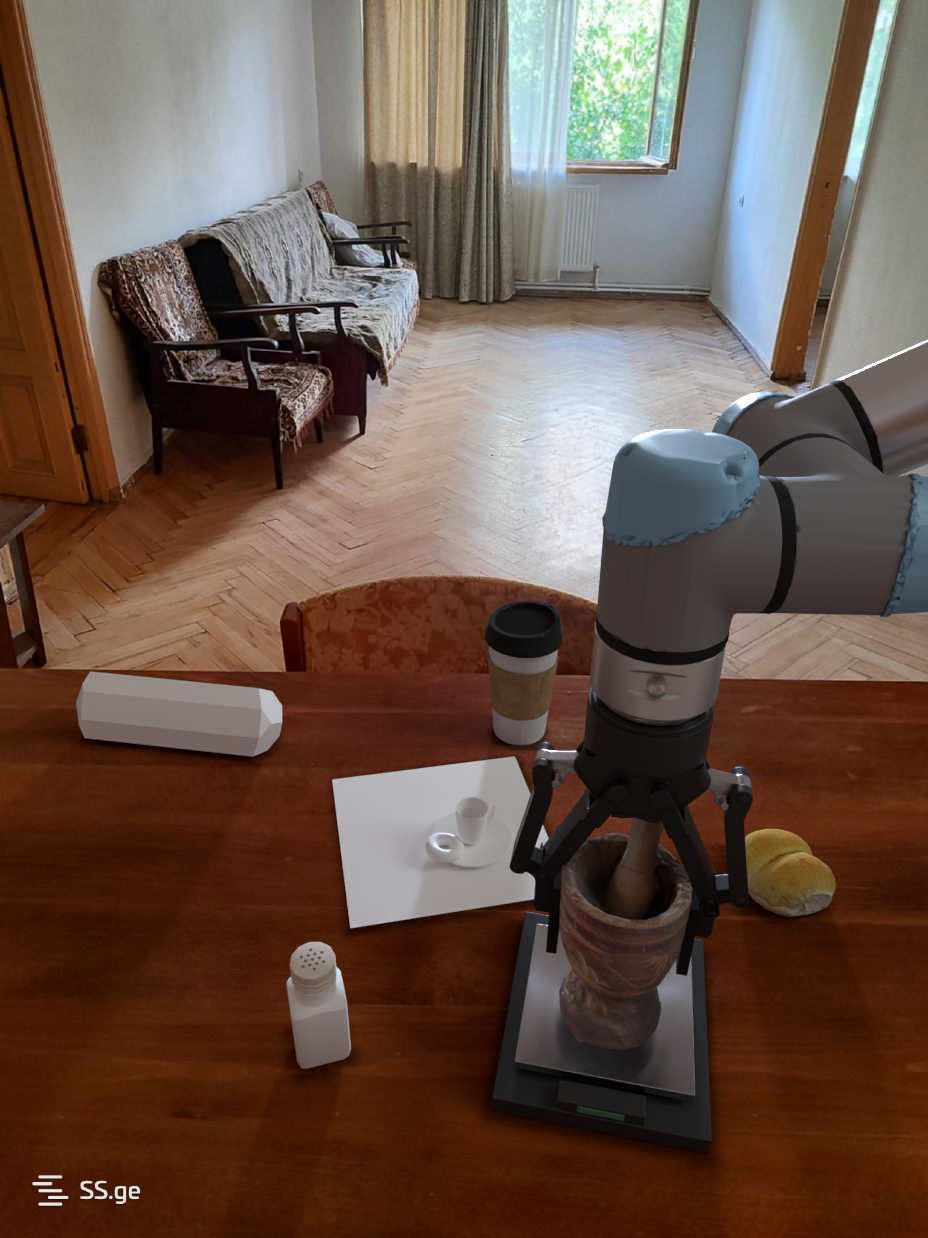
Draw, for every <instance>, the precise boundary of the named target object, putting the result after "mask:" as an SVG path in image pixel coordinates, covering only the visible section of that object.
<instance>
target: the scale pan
mask: <svg viewBox="0 0 928 1238" xmlns="http://www.w3.org/2000/svg"><path fill="white" fill-rule="evenodd" d="M547 932H548V925H543V924H537V926H536V932H535V938H534V945H533V951H532V957H531V963H530V969H529V975H528V982H527V988H526V994H525V1000H524V1006H523V1012H522V1019H521V1025H520V1031H519V1037H518V1043H517V1049H516V1056H515V1063H514V1067H515V1068H519V1069H524V1070H529V1071H534V1072H539V1073H545V1074H550V1075H555V1076H560V1077H565V1078H571V1079H576V1080H581V1081H586V1082H591V1083H597V1084H602V1085H607V1086H612V1087H618V1088H623V1089H628V1090H633V1091H638V1092H644V1093H649V1094H654V1095H659V1096H664V1097H670V1098H675V1099H680V1100H685V1101H690V1102H694V1099H695V1064H694V1027H693V991H692V954H691V959H690V964H689V969H688V974H687V976H685V975H679V974H676V961H675V963H674V964H673V966H672V967H671V969H670V971H669V972H668V973H667V975H666V976H665V978H664V979H663V980H662V982H661V983H660V985H659V986H657V990H658V995H659V1000H660V1002H661V1014H660V1018H659V1022H658V1026H657V1028H656V1030H655V1032H654V1033H653V1035H652V1036H651V1037H650V1038H649V1039H648V1040H647V1041H646V1042H645V1043H643V1044H642V1045H641V1046H637V1047H634V1048H630V1049H626V1050H622V1049H605V1048H600V1047H596V1046H592V1045H590V1044H588V1043H585V1042H580V1041H578V1040H577V1038H576V1037H575V1035H574V1034H573V1033H572V1031H571V1030H570V1028H569V1027H568V1026H567V1024H566V1022H565V1020H564V1018H563V1016H562V1014H561V1010H560V1000H559V990H560V986H561V983H562V981H563V978H564V976H565V975H566V973H567V972H568V970H569V969H570V968H571V965H570V963H569V961H568V959H567V956H566V952H565V950H564V947H563V943H562V940H561V935H560V929H559V937H558V944H557V952H556V954H554V953H548V952H546V945H547Z"/></svg>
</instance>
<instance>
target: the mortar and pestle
mask: <svg viewBox="0 0 928 1238" xmlns="http://www.w3.org/2000/svg"><path fill="white" fill-rule="evenodd" d="M664 829H665V828H664V826H663V824H662V821H661V820H660V824H659V823H652V822H647V821H644V820H641V819H638V818H632V823H631V828H630V833H629V834H627V833H615V832H613V833H605V834H600V835H598V836H595V837H588V838H587V839H586V841H585V842H584V843H583V844H582V846H581V847H580V848H579V849H578V850H577V852H576V853H575V854H574V855H573V856H572V858H571V859H570V860H569V861H568V863H567V864H566V865H563V869H562V876H561V899H560V935H561V940H562V943H563V947H564V950H565V952H566V956H567V959H568V961H569V963H570V965H571V968H570V969H569V970H568V972H567V973H566V975H565V976H564V978H563V981H562V983H561V986H560V990H559V1000H560V1010H561V1014H562V1016H563V1018H564V1020H565V1022H566V1024H567V1026H568V1027H569V1028H570V1030H571V1031H572V1033H573V1034H574V1035H575V1037H576V1038H577V1040H578V1041H580V1042H585V1043H588V1044H590V1045H592V1046H596V1047H600V1048H605V1049H622V1050H626V1049H630V1048H634V1047H637V1046H641V1045H642V1044H643V1043H645V1042H646V1041H647V1040H648V1039H649V1038H650V1037H651V1036H652V1035H653V1033H654V1032H655V1030H656V1028H657V1026H658V1022H659V1018H660V1014H661V1002H660V1000H659V995H658V990H657V986H659V985H660V983H661V982H662V980H663V979H664V978H665V976H666V975H667V973H668V972H669V971H670V969H671V967H672V966H673V964H674V963H675V961H676V958H677V956H678V954H679V951H680V948H681V945H682V942H683V938H684V935H685V929H686V925H687V921H688V917H689V912H690V908H691V904H692V887H691V881H690V879H689V877H688V875H687V872H686V870H685V868H684V866H683V863H682V862H681V860H678V859H677V858H676V857H675V856H674V855H673V854H672V853H671V852H670V851H669V850H668V849H666V848H665V847H663V846H662V845H661V844H660V840H661V838H662V834H663V831H664Z"/></svg>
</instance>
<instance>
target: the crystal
mask: <svg viewBox="0 0 928 1238" xmlns="http://www.w3.org/2000/svg"><path fill="white" fill-rule="evenodd" d="M75 706H76V714H77V720H78V727H79V729H80V731H81V733H82V735H83V738H84V739H90V740H98V741H107V742H115V743H127V744H135V745H145V746H153V747H163V748H171V749H181V750H190V751H200V752H207V753H208V752H209V753H218V754H227V755H234V756H242V757H243V756H244V757H245V756H246V757H251V758H253V757H256V756H258V755H260V754H263V753H265V752H267V751H269V749H270V748H271V747H272V746H273V745H274V743H275V742H276V741H277V740H278V739H279V738H280V736H281V732H282V726H283V704H282V703H281V701H280V700H279V699H278V697H277V696H276V694H275V693H274V691H272V690H268V689H264V688H260V687H252V686H251V687H249V686H241V685H240V686H239V685H229V684H222V683H221V684H219V683H210V682H200V681H190V680H182V679H181V680H180V679H169V678H160V677H149V676H141V675H140V676H139V675H129V674H120V673H109V672H99V671H89V673H88V674H87V676H86V677H85V679H84V681H83V682H82V684H81V687H80V689H79V693H78V696H77V697H76V701H75Z"/></svg>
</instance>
